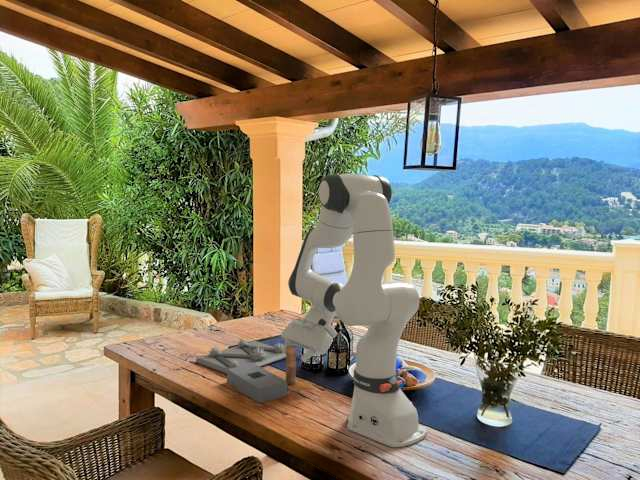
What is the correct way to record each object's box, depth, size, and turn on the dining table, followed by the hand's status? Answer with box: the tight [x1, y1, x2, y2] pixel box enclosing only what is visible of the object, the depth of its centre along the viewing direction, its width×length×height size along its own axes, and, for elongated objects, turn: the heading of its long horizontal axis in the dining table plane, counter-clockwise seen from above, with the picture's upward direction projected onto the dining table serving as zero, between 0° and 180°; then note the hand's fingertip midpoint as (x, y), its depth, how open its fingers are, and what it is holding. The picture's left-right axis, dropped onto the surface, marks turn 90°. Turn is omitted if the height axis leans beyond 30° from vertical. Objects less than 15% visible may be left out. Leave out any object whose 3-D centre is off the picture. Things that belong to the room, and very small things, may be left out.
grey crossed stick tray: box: [195, 338, 286, 375], centre depth 189 cm, size 30×22×7 cm
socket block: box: [226, 363, 288, 404], centre depth 162 cm, size 20×10×4 cm, turn 39°
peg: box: [285, 345, 297, 386], centre depth 168 cm, size 3×3×12 cm
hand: (293, 357), depth 168 cm, fingers open, 8 cm apart
